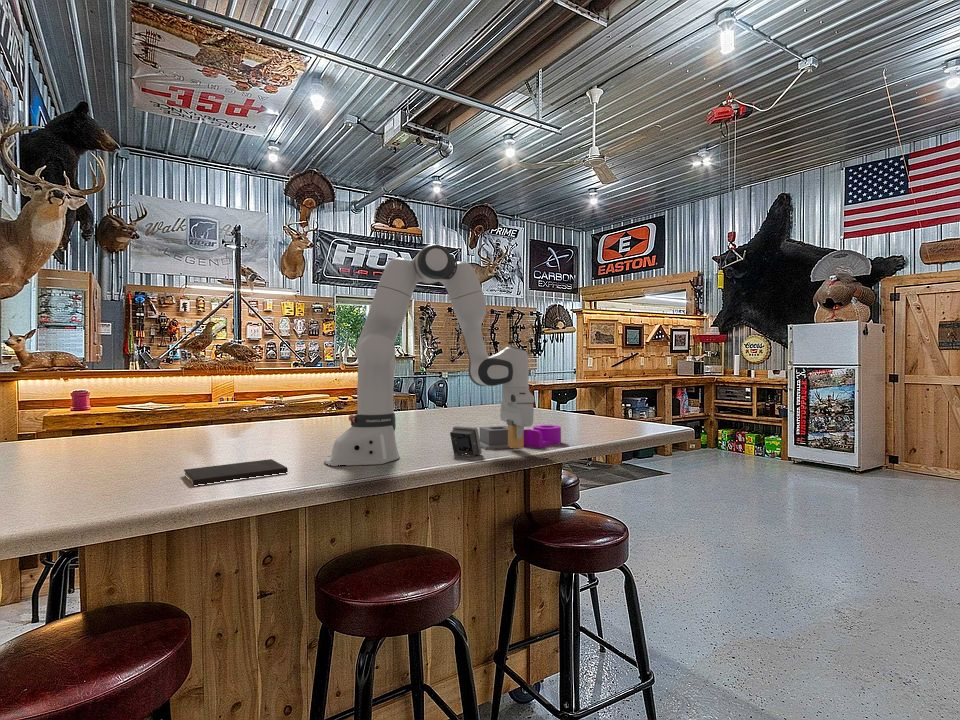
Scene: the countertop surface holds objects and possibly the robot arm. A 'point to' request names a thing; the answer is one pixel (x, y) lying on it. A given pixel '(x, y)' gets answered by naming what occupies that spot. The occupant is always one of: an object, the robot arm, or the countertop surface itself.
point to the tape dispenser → (542, 436)
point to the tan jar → (514, 436)
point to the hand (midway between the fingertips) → (515, 437)
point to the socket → (494, 437)
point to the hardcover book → (234, 471)
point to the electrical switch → (465, 440)
